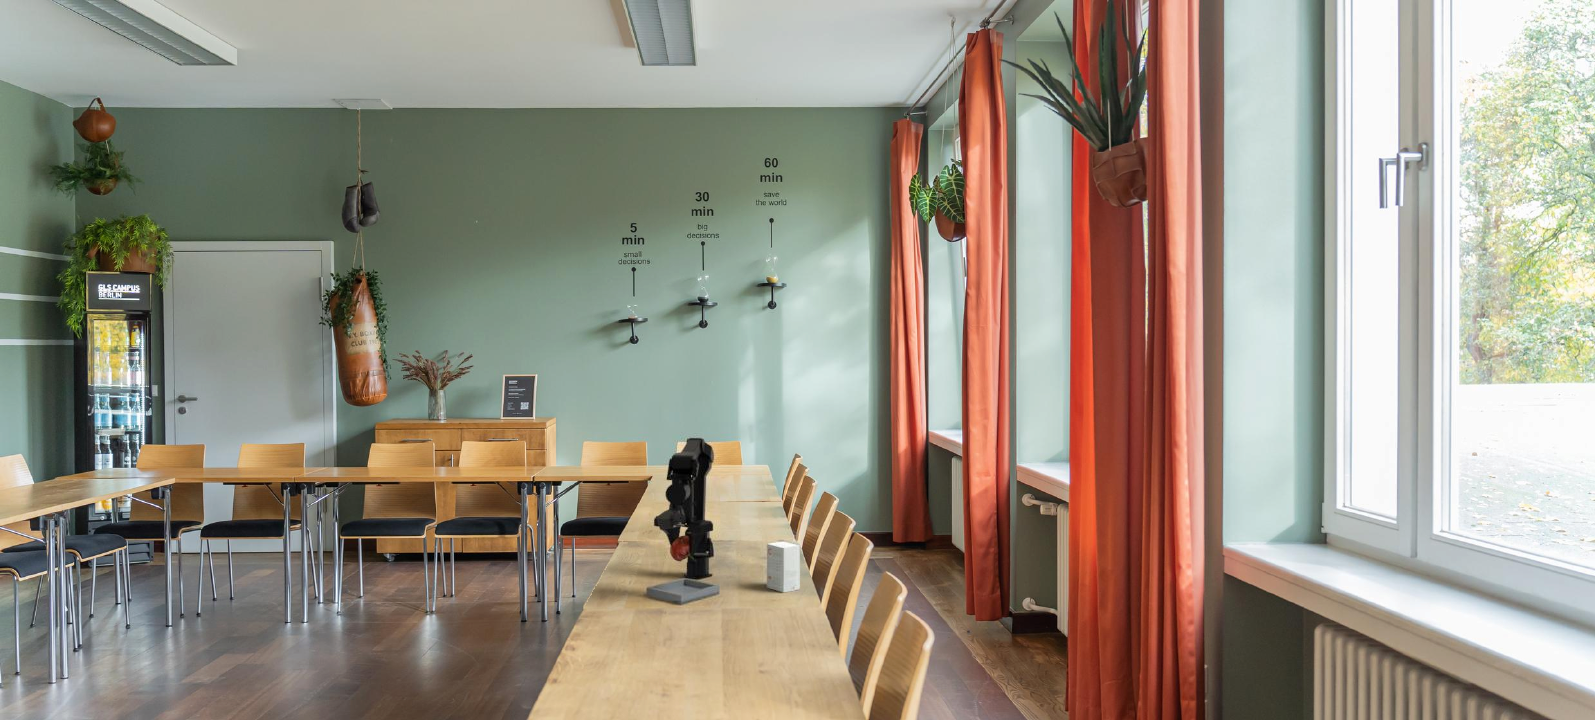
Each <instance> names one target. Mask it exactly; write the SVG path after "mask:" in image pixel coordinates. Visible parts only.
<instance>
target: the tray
mask: <svg viewBox="0 0 1595 720" xmlns="http://www.w3.org/2000/svg"><path fill="white" fill-rule="evenodd" d="M717 595H720V585H719V584H714V583H711V582H705V581H700V580H698V579H693V578H688V577H686V578H685V577H683V578H680V579H675V580H671V581H667V582H664V583H660V584H655V585H652V586H648V587H646V597H647V598H651V597H653V598H652V599H655V600H661V601H665V602H668V603H672V604H676V605H685V604H688V603H693V602H696V601H700V600H703V599H707V598H711V597H714V596H717Z"/></svg>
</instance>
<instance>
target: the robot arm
mask: <svg viewBox="0 0 1595 720" xmlns="http://www.w3.org/2000/svg"><path fill="white" fill-rule="evenodd" d="M668 461H669V462H668V468H667V474H666V481H671V484H670V485H669V486H668V487H667V488H666V490H665V498H666V500H667V501H668V503H669V508H668V509H666V510H665V511H663V512H661V513H660V514H659V515H656V516H655V517H654V519H653V526H654V527H658V528H659V530H661V531H663V532H664V533H665V535H666V537H667V539H668V543H669V545H670V547H671V545H672V544H673V540H672V539H670V538H671V537H673V538H675V539H678V538H679V537H680V533H681V528H686V529H685V531H684V536H688V537H689V550H690V556H691V557H693V558H694V560H695V561H696V562H695V561H694V560H693V559H692V558H691V557H690V556H688V557H687V558H686V559H687V560H686V561H687V562H686V573H685V574H683V577H684V578H685V577H686V578H689V579H694V580H701V579H705V578H708V577H712V576H713V573H710V561H709V559H711V558H714V557H715V549H714V542H713V541H712V538H711V535H710V534H711V533H710V532H713V531H714V523H713V522H712V520H707V519H706V500H707V499H706V497H707V495H706V494H707V493H706V492H707V476H708V475H709V473H710V472H711V470H712V467H713V465H712V464H713V463H714V461H715V453H714V449H713V446H712V445H710V444H708V443H707V442H706V441H705V439H704V438H702V437H688V438H687V440H686V444H685V446H684V447H683V449H682V450H681V451H680V452H676V453H674V454H673V455H672V456H671V458H669V460H668Z"/></svg>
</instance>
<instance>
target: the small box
mask: <svg viewBox="0 0 1595 720" xmlns="http://www.w3.org/2000/svg"><path fill="white" fill-rule="evenodd" d="M800 546H801V545H800V544H795V543H792V542H787V541H777V542H770V543H767V544H766V587H767V588H766V589H771V590H773V591H777V592H781V593H790V592H794V591H798V590H800V588H801V576H800V575H801V556H800V555H801V551H800V550H801V547H800Z"/></svg>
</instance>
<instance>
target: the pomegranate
mask: <svg viewBox="0 0 1595 720" xmlns="http://www.w3.org/2000/svg"><path fill="white" fill-rule="evenodd" d="M670 539H672V540H673V544H672V545H671V546H670V547H669V553H670V555H671V556H670V557H672V559H673V560H674V561H677V562H682V561H684V560H686V559H687V557H688V556H690V550H689V537H688V536H685V535H681V536H680V535H679V538H678V539H675V538H673V537H671V538H670ZM690 557H691V556H690ZM691 558H692V559H693V560H694V558H693V557H691ZM694 561H695V560H694ZM695 562H696V561H695Z"/></svg>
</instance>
